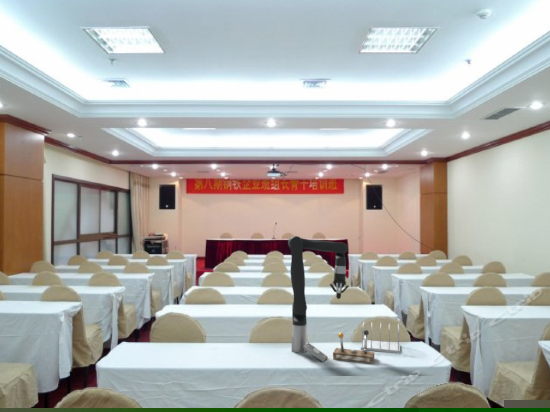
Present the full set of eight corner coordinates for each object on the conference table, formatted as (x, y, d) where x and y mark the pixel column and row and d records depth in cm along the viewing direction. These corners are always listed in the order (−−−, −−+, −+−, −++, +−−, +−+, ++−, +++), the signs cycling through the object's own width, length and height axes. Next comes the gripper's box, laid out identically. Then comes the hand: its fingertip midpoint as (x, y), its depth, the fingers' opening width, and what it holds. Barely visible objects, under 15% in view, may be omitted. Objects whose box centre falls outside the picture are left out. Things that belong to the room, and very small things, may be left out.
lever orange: (339, 352, 255) (337, 334, 249) (340, 348, 257) (338, 331, 252) (344, 352, 254) (343, 335, 248) (345, 349, 256) (343, 331, 251)
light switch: (324, 359, 247) (304, 345, 252) (320, 367, 248) (300, 353, 253) (328, 355, 255) (309, 341, 260) (324, 362, 256) (304, 349, 261)
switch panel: (333, 359, 252) (333, 350, 252) (336, 354, 262) (336, 346, 262) (372, 363, 244) (372, 355, 244) (374, 358, 254) (374, 349, 254)
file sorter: (360, 350, 271) (360, 326, 272) (362, 342, 288) (362, 320, 288) (400, 353, 264) (400, 329, 265) (399, 345, 281) (399, 322, 282)
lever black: (362, 352, 250) (363, 329, 256) (362, 353, 253) (364, 330, 259) (367, 353, 249) (368, 329, 255) (368, 353, 252) (369, 330, 258)
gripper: (329, 272, 272) (327, 298, 271) (349, 274, 268) (347, 300, 267) (331, 271, 279) (329, 296, 278) (350, 273, 275) (349, 299, 274)
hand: (338, 298), depth 272 cm, fingers closed
